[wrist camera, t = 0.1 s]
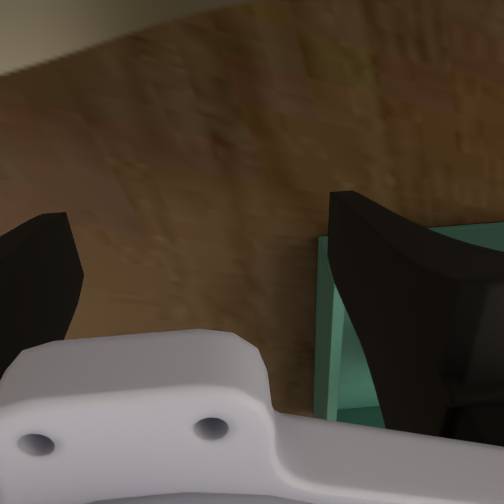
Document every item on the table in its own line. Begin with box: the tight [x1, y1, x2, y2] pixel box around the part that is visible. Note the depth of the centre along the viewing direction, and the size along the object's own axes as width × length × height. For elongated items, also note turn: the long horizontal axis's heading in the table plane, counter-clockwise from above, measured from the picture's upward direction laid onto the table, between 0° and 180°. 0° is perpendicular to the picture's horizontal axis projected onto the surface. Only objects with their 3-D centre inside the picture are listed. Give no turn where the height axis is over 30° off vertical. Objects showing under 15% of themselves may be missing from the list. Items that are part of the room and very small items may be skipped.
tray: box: [313, 222, 504, 429], centre depth 27 cm, size 14×11×4 cm
